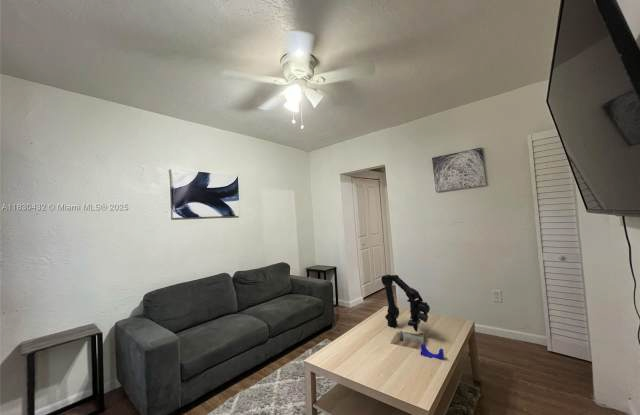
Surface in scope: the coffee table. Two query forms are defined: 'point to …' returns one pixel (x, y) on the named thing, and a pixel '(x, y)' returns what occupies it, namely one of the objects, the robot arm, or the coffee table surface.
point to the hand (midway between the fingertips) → (416, 331)
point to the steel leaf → (411, 338)
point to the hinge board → (407, 344)
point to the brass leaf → (414, 334)
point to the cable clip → (428, 354)
